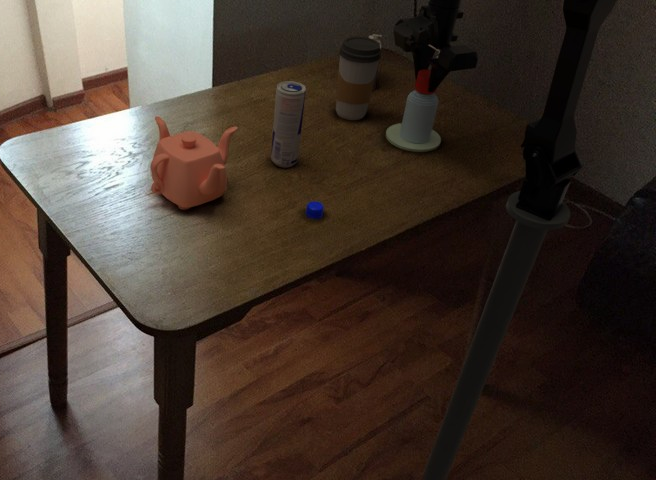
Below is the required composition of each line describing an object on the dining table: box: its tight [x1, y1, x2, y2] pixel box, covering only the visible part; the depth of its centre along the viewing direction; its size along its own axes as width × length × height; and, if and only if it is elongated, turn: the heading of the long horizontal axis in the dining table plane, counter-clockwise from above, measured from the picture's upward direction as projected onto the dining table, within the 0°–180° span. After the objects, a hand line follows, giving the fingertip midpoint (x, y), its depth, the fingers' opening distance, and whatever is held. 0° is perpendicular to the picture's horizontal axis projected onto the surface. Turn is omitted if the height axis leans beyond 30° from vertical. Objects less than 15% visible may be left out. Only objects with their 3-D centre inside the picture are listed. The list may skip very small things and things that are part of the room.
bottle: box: [400, 89, 440, 143], centre depth 137 cm, size 6×6×12 cm
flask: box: [367, 33, 383, 90], centre depth 158 cm, size 9×3×11 cm, turn 177°
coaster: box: [385, 122, 442, 153], centre depth 142 cm, size 11×11×1 cm
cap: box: [414, 68, 438, 94], centre depth 134 cm, size 4×4×3 cm
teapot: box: [149, 115, 238, 211], centre depth 118 cm, size 14×14×11 cm
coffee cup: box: [335, 35, 382, 121], centre depth 143 cm, size 8×8×15 cm
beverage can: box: [270, 80, 307, 169], centre depth 127 cm, size 5×5×15 cm
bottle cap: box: [305, 201, 325, 220], centre depth 119 cm, size 3×3×2 cm
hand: (424, 87), depth 134 cm, fingers closed on cap, 4 cm apart
